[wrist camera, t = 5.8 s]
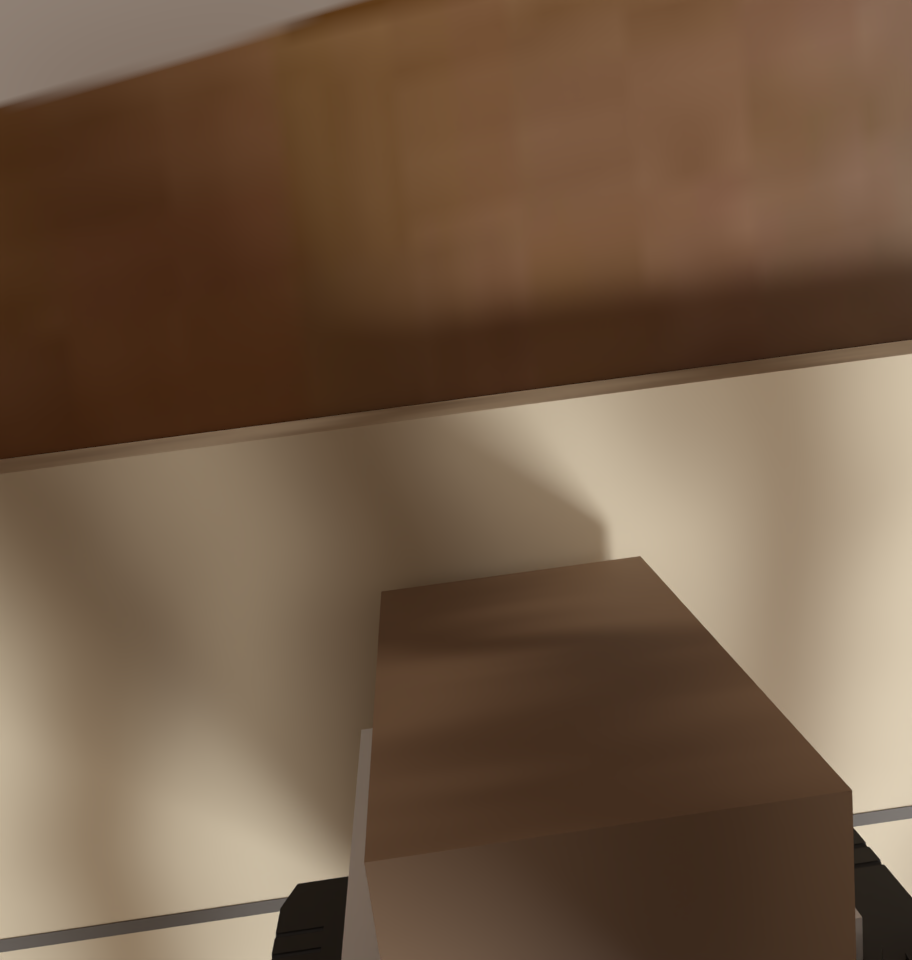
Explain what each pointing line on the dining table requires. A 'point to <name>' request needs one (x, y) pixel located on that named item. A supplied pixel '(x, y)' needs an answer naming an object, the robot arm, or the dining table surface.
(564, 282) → the dining table surface
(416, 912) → the beige drawer
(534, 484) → the board
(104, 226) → the dining table surface
